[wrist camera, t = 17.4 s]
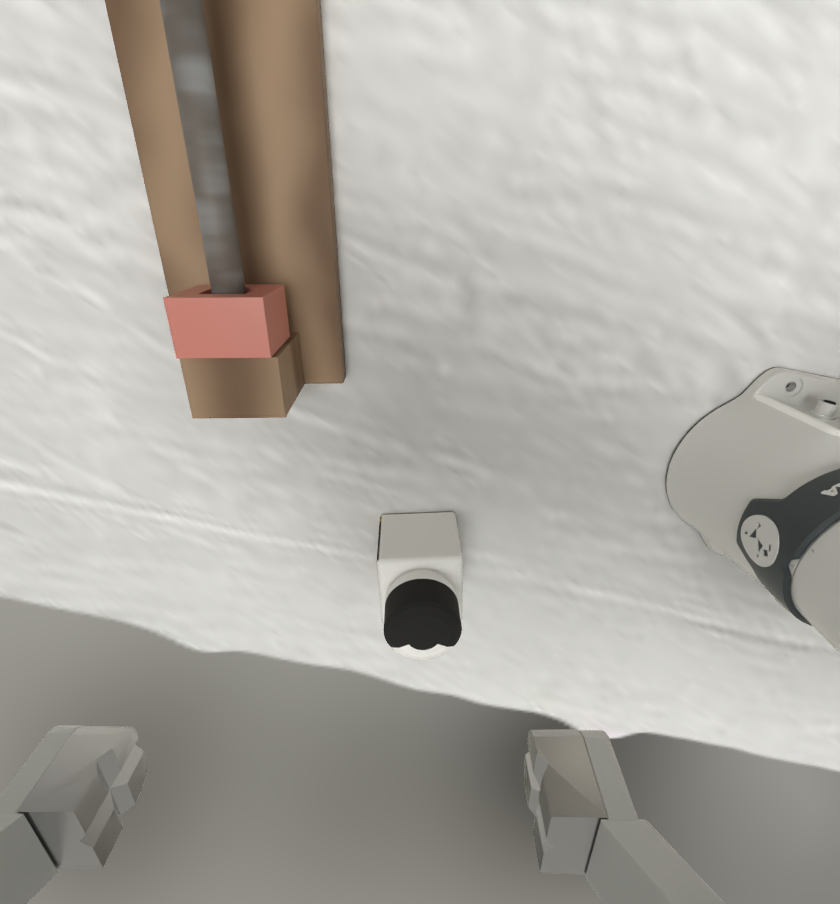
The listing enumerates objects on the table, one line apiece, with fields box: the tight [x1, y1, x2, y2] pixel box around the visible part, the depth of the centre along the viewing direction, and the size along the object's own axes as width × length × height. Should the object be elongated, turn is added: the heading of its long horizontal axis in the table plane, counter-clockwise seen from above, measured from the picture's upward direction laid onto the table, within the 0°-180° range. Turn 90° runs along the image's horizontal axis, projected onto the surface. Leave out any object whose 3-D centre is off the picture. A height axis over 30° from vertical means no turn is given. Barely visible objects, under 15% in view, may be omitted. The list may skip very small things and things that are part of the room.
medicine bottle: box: [377, 512, 463, 659], centre depth 43 cm, size 7×7×12 cm
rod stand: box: [105, 0, 346, 418], centre depth 29 cm, size 12×30×9 cm, turn 0°
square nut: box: [163, 284, 290, 358], centre depth 31 cm, size 6×4×6 cm, turn 90°
